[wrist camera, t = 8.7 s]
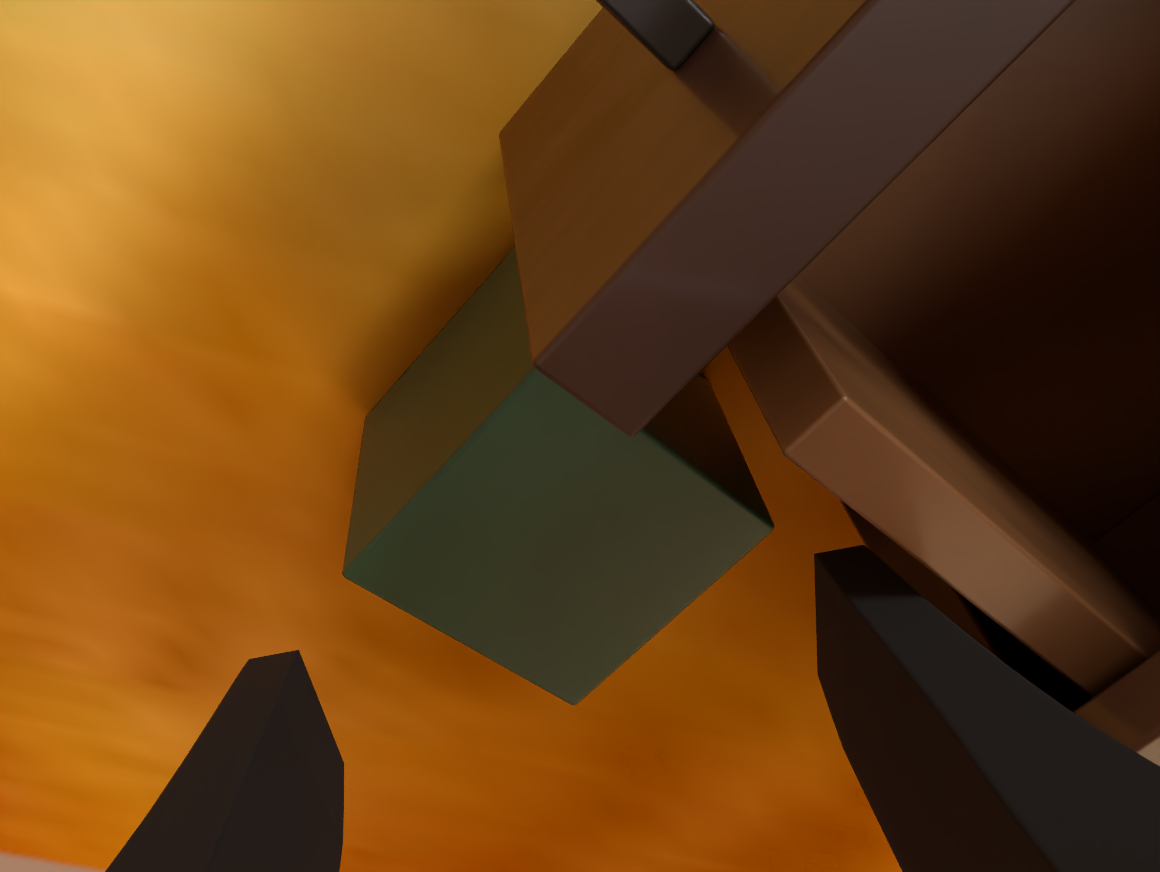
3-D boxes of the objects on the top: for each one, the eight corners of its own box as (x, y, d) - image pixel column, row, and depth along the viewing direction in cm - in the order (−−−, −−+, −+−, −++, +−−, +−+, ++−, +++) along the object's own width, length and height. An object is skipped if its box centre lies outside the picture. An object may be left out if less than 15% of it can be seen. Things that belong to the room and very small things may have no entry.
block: (524, 233, 16) (546, 355, 13) (712, 383, 18) (778, 529, 14) (363, 418, 18) (339, 577, 14) (551, 539, 20) (574, 709, 16)
